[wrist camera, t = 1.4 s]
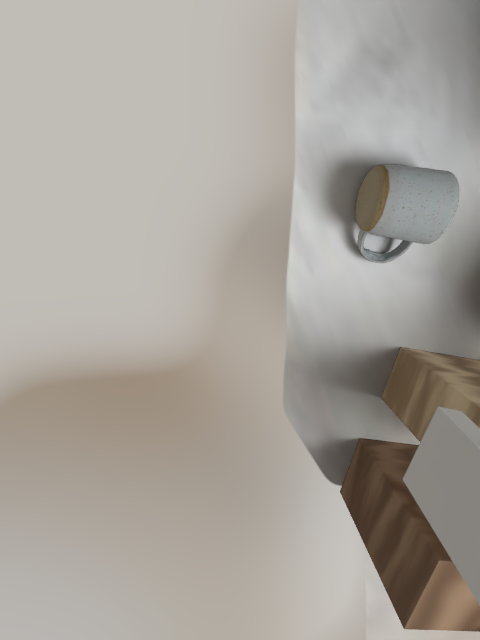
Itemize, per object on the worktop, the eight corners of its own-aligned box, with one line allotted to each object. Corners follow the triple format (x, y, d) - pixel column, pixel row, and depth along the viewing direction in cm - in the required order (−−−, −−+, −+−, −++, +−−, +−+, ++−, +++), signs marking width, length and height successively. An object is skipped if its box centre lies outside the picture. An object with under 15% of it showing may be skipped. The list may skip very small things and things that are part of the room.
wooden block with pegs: (339, 493, 57) (418, 665, 36) (360, 436, 54) (460, 589, 33) (430, 501, 59) (553, 666, 39) (455, 448, 56) (604, 597, 35)
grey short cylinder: (359, 163, 41) (393, 158, 34) (426, 172, 42) (472, 170, 35) (340, 257, 44) (366, 270, 37) (402, 263, 46) (439, 277, 38)
